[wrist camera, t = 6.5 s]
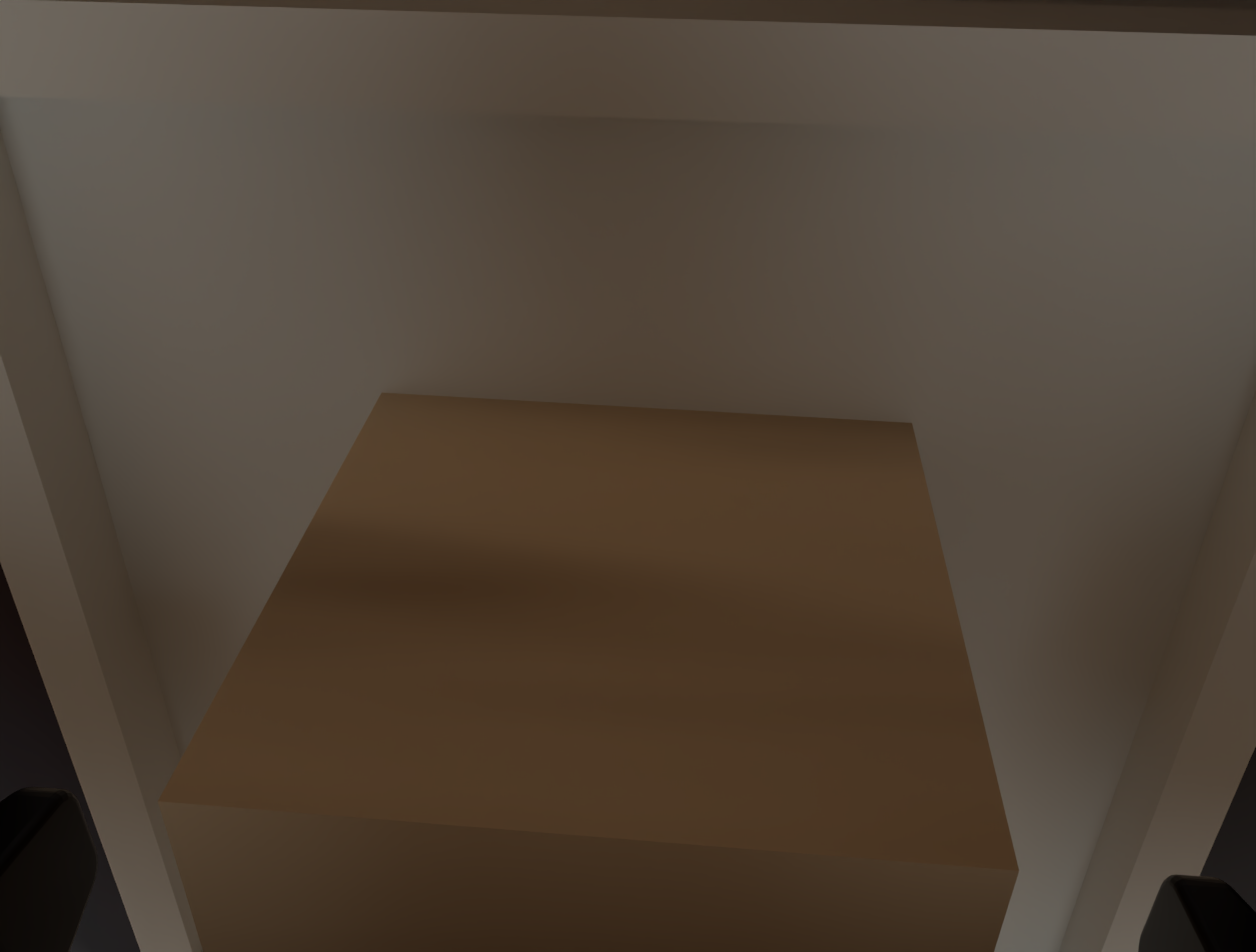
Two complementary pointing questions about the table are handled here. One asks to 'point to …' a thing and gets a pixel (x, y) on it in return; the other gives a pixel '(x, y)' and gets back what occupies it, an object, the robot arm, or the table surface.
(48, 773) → the table surface
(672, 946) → the oak block
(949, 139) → the tray
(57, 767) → the table surface
